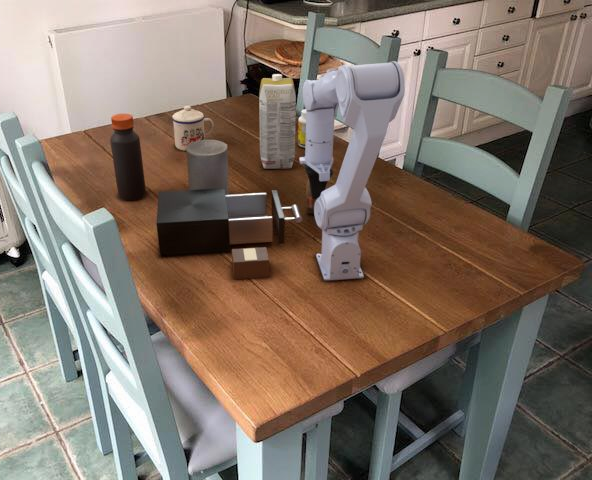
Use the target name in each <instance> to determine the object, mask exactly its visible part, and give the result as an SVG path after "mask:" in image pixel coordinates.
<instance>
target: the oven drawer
mask: <svg viewBox="0 0 592 480" xmlns="http://www.w3.org/2000/svg"><path fill="white" fill-rule="evenodd" d="M267 202H268V201H267V192H253V193H235V194H229V195H226V203H227V211H228V218H229V239H230V245H242V244H243V245H244V244H259V243H273V241H274V240H273V227H274V230H275V234H276V237H277V241H278V244H279V245H285V244H286V243H285V242H286V241H285V240H286V239H285V237H286V234H285V233H286V230H285V229H286V222H295V223H297V224H300V223H301V222H302V221H303V218H302V216H301V213H300V210H299V206H298V204H295V203H294V204H292V205H291V206H283V207H282V204H281V200H280V196H279V194H278V190H277V189H272V190H271V216H268V215H267V213H268V211H267V208H268V206H267ZM285 211H287V212H289V211H291V212H292V216H293V217H285V214H284V212H285Z"/></svg>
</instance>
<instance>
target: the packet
mask: <svg viewBox="0 0 592 480" xmlns="http://www.w3.org/2000/svg"><path fill="white" fill-rule="evenodd" d="M231 262H232V263H231V264H232V267H231V268H232V274H233V280H244V279H245V280H247V279H258V278H259V279H260V278H269V277H270V258H269V253H268V249H267V247H266V246H263V247H262V246H261V247H247V248H232V249H231Z"/></svg>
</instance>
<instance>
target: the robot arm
mask: <svg viewBox="0 0 592 480" xmlns="http://www.w3.org/2000/svg"><path fill="white" fill-rule="evenodd" d="M405 93H406V87H405V73H404V71H403V68H402V66H401V65H400V64H399V62H398V61H395V60H391V61H389V62H380V63H379V62H378V63H366V64H365V63H364V64H353V65H352V64H351V65H348V64H342V65H340V66H338V68H329V69H327V70H326V74H321V75H320V76H319V78H318V79H314V80H310V79H305V81H304V83H303V85H302V102H303V105H304V109H306V143H305V148H304V149H305V151H304V156H300V157H299V158H298V159H299V163H300V164H301V165H303V168H304V170H305V173H306V175H307V179H308V178H309V183H310V190H311V195H312V198H313V199H317V200H316V202H315V205H314V213H313V215H314V220H315V224H316V225H317V227H318V228H319V229H320V230H321V253H317V254H316V255H315V257H316V260H317V263H318V266H319V270H320V272H321V275H322V278H323V280H324V281H339V280H354V279H363V278H364V277H365V275H364V273H363V270H362V268H361V257H362V256H361V255H362V251H361V247H360V244H359V235H360V231H363V228H364V225H367V223H368V222H369V220H370V218H371V209H372V205H373V201H372V198H371V195H370V193H369V191H368V189H367V187H366V186H367V183H368V181H369V179H370V176H371V174H372V170H373V168H374V165H375V163H376V161H377V158H378V155H379V153H380V150H381V148H382V145H383V143H384V140H385V138H386V135H387V132H388V128H389V124H390V123H391V122H392V121H393V120H395V119H396V116H397V114H398V111H399V109H400V107H401V105H402V102H403V99H404V97H405ZM338 109H339V111H340V116H341V117H342V123H343V124H344V125H346V126H348V127H350V128H351V129H353V130H352V132H351V136H350V139H349V142H348V146H347V147H346V152H345V155H344V158H343V160H342V164H341V167H340V170H339V173H338V176H337V179H336V182H335V184H333V185H331V186H329V187H328V188H327V185H328V182H330V181H331V177H332V176H333V173H334V171H333V169H332V167H333V164H334V156H333V152H334V135H335V134H334V133H335V118H337V116H338Z"/></svg>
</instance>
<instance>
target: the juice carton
mask: <svg viewBox="0 0 592 480" xmlns="http://www.w3.org/2000/svg"><path fill="white" fill-rule="evenodd" d="M271 75H272V76H271V78H270V77H269V78H268V77H267V78H266V77H263V78H261V80H260V86H259V92H258V96H259V97H258V100H259V101H258V103H259V153H260V159H261V164H262V167H263V169H264V170H265V169H266V170H271V169H273V170H274V169H276V170H277V169H292V168H293V164H294V160H295V155H296V123H297V122H296V119H297V118H296V115H297V114H296V112H297V109H296V108H297V97H296V95H297V94H296V93H297V92H296V88H295V84H294V80H293V78H292V77H286V78H285V77H283V74H280V73H273V74H271Z"/></svg>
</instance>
